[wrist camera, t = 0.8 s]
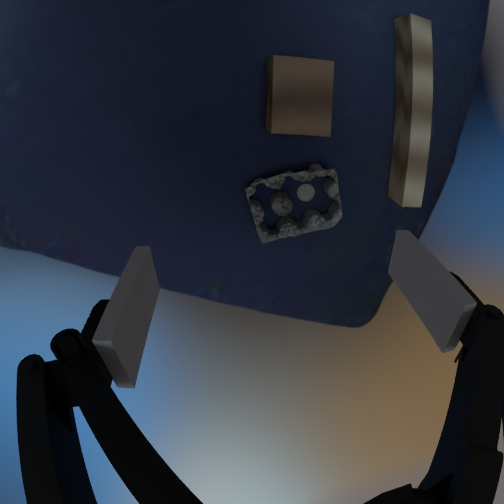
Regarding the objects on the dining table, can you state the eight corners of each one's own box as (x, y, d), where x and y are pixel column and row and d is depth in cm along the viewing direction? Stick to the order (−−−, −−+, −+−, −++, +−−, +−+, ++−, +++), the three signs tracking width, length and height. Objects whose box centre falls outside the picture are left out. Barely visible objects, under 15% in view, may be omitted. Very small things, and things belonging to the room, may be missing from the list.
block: (267, 61, 29) (273, 55, 24) (320, 66, 29) (334, 61, 25) (265, 129, 32) (271, 133, 28) (317, 131, 33) (330, 136, 28)
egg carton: (329, 158, 35) (340, 165, 31) (336, 214, 38) (347, 227, 35) (242, 177, 35) (244, 186, 31) (256, 233, 39) (259, 248, 35)
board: (393, 19, 26) (410, 13, 22) (413, 25, 26) (430, 20, 22) (387, 196, 37) (401, 206, 33) (405, 196, 37) (420, 207, 34)
